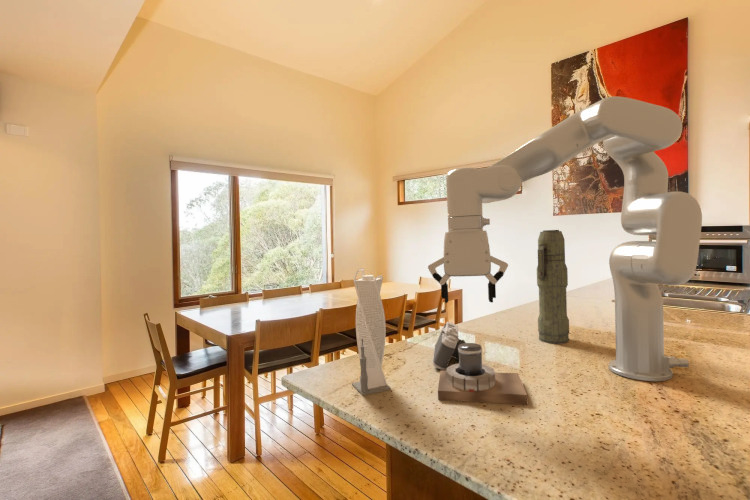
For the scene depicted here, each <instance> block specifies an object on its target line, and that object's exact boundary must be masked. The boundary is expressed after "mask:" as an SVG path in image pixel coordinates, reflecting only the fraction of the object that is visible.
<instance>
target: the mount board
mask: <svg viewBox="0 0 750 500" xmlns="http://www.w3.org/2000/svg"><path fill="white" fill-rule="evenodd" d="M438 379H439V380H438V387H437V401H455V402H471V403H472V402H473V403H491V404H511V405H528V394H527V392H526V389H525V386H524V384H523V382H522V379H521V377H520V375H519V372H518V373H517V372H496V371H495V369H494V368H493V367H491V366H488V365H486V364H483V363H482V375H479V376H464V375H460V373H459V362H458V363H455V364H451V365H448V366H447V368H446V370H440V372H439V378H438Z"/></svg>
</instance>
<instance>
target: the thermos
mask: <svg viewBox="0 0 750 500" xmlns="http://www.w3.org/2000/svg"><path fill="white" fill-rule="evenodd" d="M565 243H566V242H565V236H564V235H563V232H562V231H561V230H559V229H549V230H547V229H545V230H542V231H540V233H539V235H538V238H537V267H536V285H537V287H538V303H539V304H538V307H539V308H538V309H539V313H538V314H539V315H538V318H537V332H538V340H539V341H541V342H542V343H547V344H554V345H556V344H557V345H563V344H567V343H569V341H570V339H569V334H570V320H569V317H568V311H567V310H568V308H567V307H568V305H567V304H568V303H567V300H568V299H567V287H568V286H569V285H568V283H569V281H568V280H569V279H568V277H569V276H568V273H569V272H568V267H567V264H566V250H565V249H566V247H565V246H566V245H565Z"/></svg>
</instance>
